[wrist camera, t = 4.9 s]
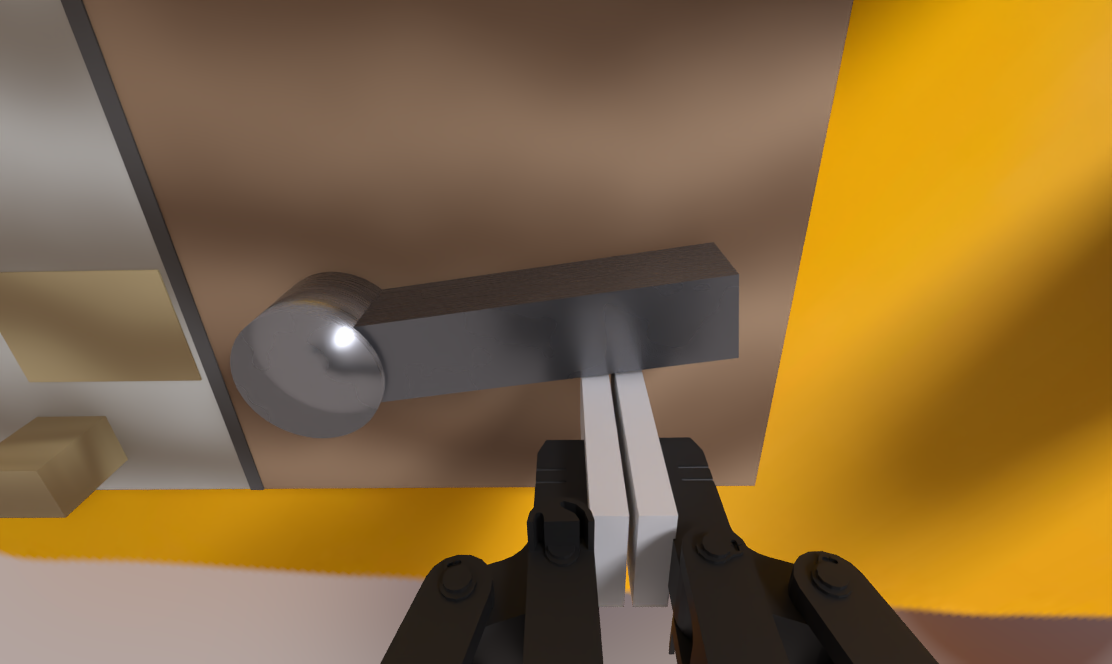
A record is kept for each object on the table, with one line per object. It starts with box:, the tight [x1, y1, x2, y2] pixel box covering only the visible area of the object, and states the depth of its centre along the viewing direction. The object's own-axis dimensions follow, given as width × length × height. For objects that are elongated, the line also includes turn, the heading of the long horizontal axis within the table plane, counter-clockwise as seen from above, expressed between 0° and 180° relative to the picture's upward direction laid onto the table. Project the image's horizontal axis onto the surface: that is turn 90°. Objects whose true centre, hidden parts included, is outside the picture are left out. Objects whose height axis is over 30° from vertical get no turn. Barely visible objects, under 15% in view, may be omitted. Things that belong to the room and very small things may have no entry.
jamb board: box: [0, 0, 853, 518], centre depth 15 cm, size 20×28×5 cm
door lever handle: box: [230, 242, 739, 438], centre depth 15 cm, size 14×4×3 cm, turn 99°
